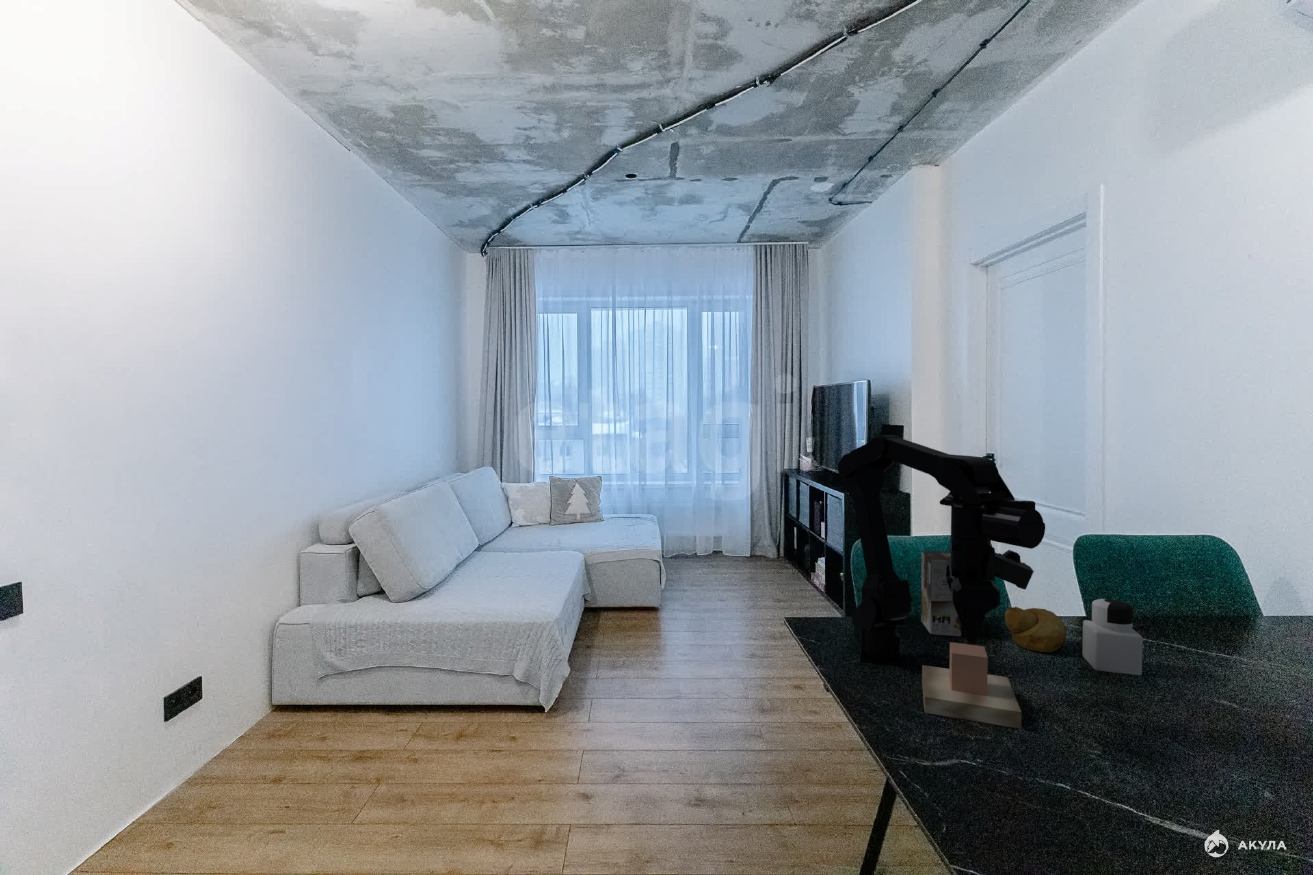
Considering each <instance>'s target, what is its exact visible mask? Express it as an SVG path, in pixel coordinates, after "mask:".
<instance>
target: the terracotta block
mask: <svg viewBox="0 0 1313 875" xmlns="http://www.w3.org/2000/svg"><path fill="white" fill-rule="evenodd" d="M988 659H989V657H988V655H987V651H986V649H985V646H984V645H983V646H982V645H976V644H967V643H958V642H950V641H949V668H948V669H949V679H950V685H951V690H953V691H959V692H966V693H972V694H979V695H985V696H987V674H988V670H989V669H988V668H989V666H988V664H989V662H988V661H989V660H988Z"/></svg>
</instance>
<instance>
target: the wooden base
mask: <svg viewBox="0 0 1313 875" xmlns="http://www.w3.org/2000/svg"><path fill="white" fill-rule="evenodd" d="M921 668H922V669H921V683H922V695H923V696H922V697H923V698H922V699H923V709H924V714H930V715H937V716H943V717H949V718H956V719H959V720H960V719H961V720H966V721H973V722H979V723H984V724H985V723H986V724H990V725H996V726H1003V727H1008V728H1014V729H1020V730H1022V710H1021V707H1020V706H1019V703H1018V700H1017V698H1016V695H1015V693H1014V691H1013V687H1012V686H1011V682H1010V680H1009V678H1008V676H1000V675H996V674H987V696H985V695H979V694H972V693H966V692H959V691H953V690H951V685H950V679H949V668H945V667H937V666H932V665H931V666H930V665H924V664H923V665H922V666H921Z"/></svg>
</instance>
